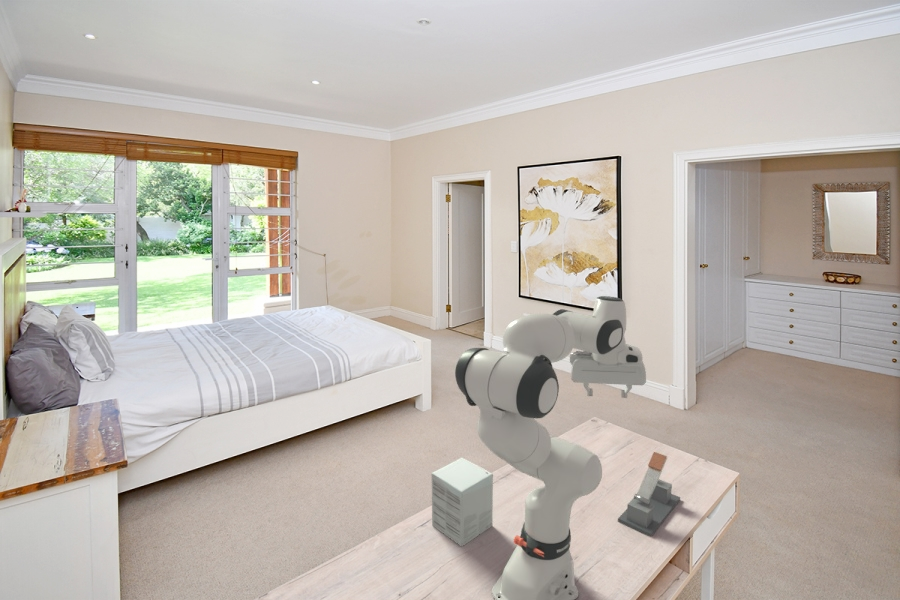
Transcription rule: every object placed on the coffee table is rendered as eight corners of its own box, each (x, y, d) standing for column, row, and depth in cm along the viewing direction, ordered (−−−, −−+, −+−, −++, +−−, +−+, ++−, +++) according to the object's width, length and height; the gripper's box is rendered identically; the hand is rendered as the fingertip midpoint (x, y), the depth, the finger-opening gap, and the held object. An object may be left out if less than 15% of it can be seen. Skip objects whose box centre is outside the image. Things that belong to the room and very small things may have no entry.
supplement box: (462, 506, 151) (462, 456, 147) (493, 526, 141) (493, 473, 138) (431, 525, 142) (430, 472, 138) (461, 547, 132) (461, 492, 129)
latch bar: (649, 506, 140) (647, 502, 139) (634, 499, 143) (633, 496, 142) (668, 458, 148) (667, 455, 146) (654, 453, 151) (653, 450, 149)
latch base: (651, 537, 136) (653, 509, 134) (617, 521, 143) (619, 494, 141) (680, 500, 153) (682, 474, 151) (649, 487, 160) (651, 463, 158)
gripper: (570, 355, 131) (569, 399, 135) (648, 357, 126) (645, 403, 130) (569, 346, 137) (569, 389, 141) (645, 348, 132) (642, 392, 136)
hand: (606, 396), depth 136 cm, fingers open, 8 cm apart
